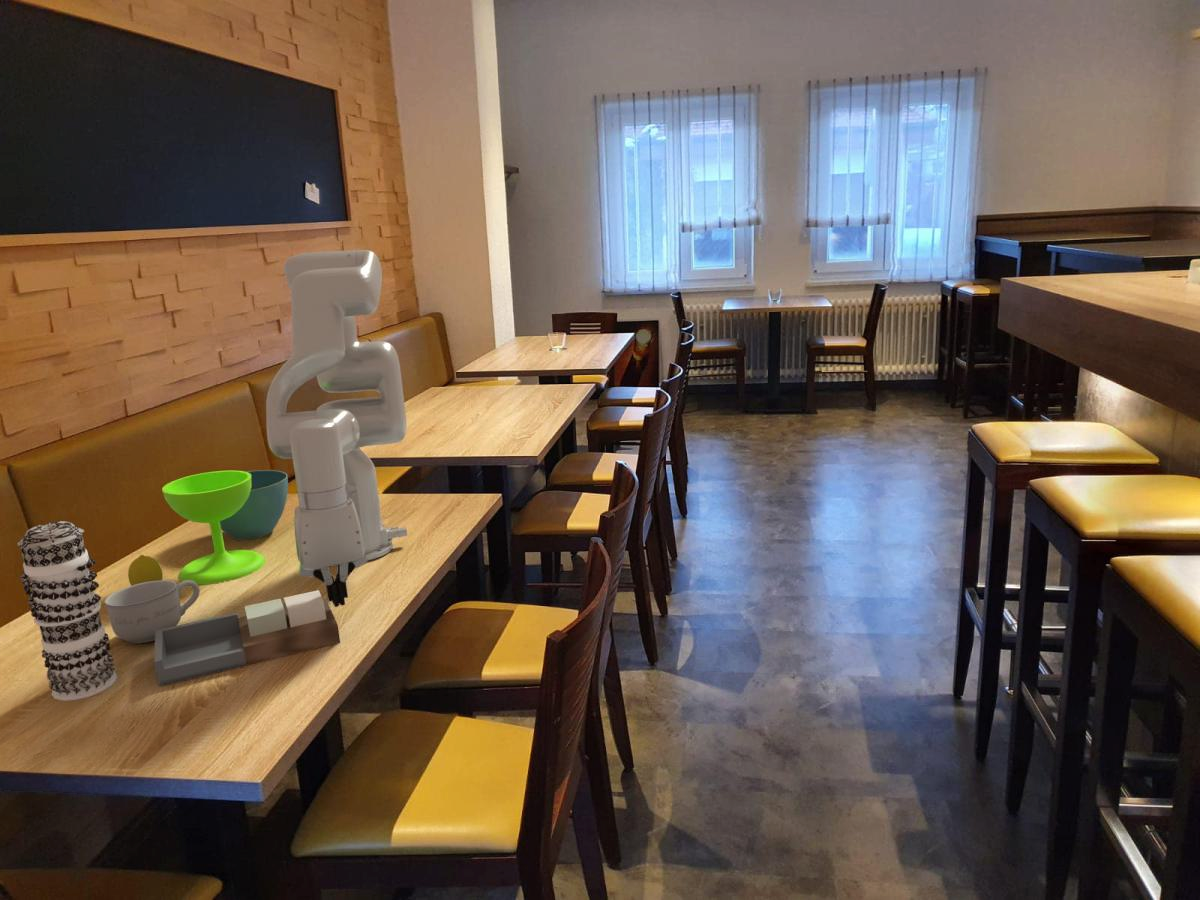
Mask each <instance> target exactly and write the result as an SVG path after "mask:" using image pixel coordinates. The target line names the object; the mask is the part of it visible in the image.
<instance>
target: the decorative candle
mask: <svg viewBox="0 0 1200 900" xmlns="http://www.w3.org/2000/svg"><path fill="white" fill-rule="evenodd" d="M84 533H85V530H84V529H83V528H81V527H77V526H76V525H75V524H74V523H72V522H69V521H64V520H63V521H52V522H47V523H43V524H38V525H36V526H34V527H31V528H29V529H28V530H26V532H25V533H24V536H23V538H22V539H21V540H19V541H18V542H17V546H18V547H20V550H21V555H22V559H23V564H22V566H23V571H22V573H21V574H22V575H21V576H20V581H22V584H23V585H24V586H23V590H24V594H25V595H28V597H29V598H28V599H27V603H28V604H29V607H30V614H31V617H32V618H34V620H33V623H34V624H35V625H37V626H38V627H39V630H40V635H41V640H40V641H41V646H42V649H43V650H42V651H41V657H42V658H44V659H45V660H44V667H45V668H46V669H48V670H47V671H46V678H47V680H48V681H49V683H48V687H49V689H51V690H52V692H51V696H52V697H53V699H55V700H56V701H61V702H69V701H70V702H71V701H78V700H83V699H87V698H90V697H93V696H94V695H95V696H96V695H98V694H100V693H102V692H104V691H105V690H107V689H110V688H111V687H112V686H113V685H114V684H115V683H116V682H117V680H118V679H117V678H118V676H117V673H116V672H115V670H116V666H115V663H114V662H113V661H114V660H115V659H114V658H113V654H112V653H110V650H111V644H110V643H109V640H110V638H109V635H108V633H106V630H105V626H104V623H103V622H102V619H101V614H100V610H101V608H102V603H101V598H102V597H101V596H100V594H98V593H97V594H96V593H95V592H94V591H96V590H97V589H98V588H99V587H100V584H99V582H97V581H95V579H96V578H97V577H98V574H97V572H95V571H93V570H90V568H91V567H93V566H94V565H95V564H96V561H95V560H94V559H93V558H91V557H89V552H88V549H86V547H85V542H84V541H85V540H84V538H83V534H84Z"/></svg>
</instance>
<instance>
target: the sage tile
mask: <svg viewBox="0 0 1200 900" xmlns="http://www.w3.org/2000/svg"><path fill="white" fill-rule="evenodd" d="M284 607H285V606H284V605H283V601H282V599H281V598H278V599H273V600H267V601H262V602H258V603H253V604H250V605H249V604H248V605H245V606H244V611H245V616H246V617H247V623H248V628H249V633H250V637H252V636H256V635H261V634H265V633H269V632H274V631H278V630H282V629H286V628H287V623H286V616H285V610H284Z"/></svg>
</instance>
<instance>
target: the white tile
mask: <svg viewBox="0 0 1200 900" xmlns="http://www.w3.org/2000/svg"><path fill="white" fill-rule="evenodd" d="M323 599H324V598H323V596H322V594H321V592H320V590H318V589H317V590H314V591H309V592H305V593H299V594H295V595H291V596H286V597H283V601H284V607H285V608H286V614H287V617H288V621H289V624H290V627H295V626H299V625H304V624H308V623H312V622H317V621H321V620H325V619H326V613H325V606H324V601H323Z"/></svg>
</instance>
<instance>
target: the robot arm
mask: <svg viewBox="0 0 1200 900" xmlns="http://www.w3.org/2000/svg"><path fill="white" fill-rule="evenodd" d="M283 266H284V267H283V272H284V276H285V281H286V283H287V285H288V287H289V289H290V297H291V298H290V299H291V301H290V302H291V303H290V304H291V307H290V308H291V328H292V329H291V330H292V333H291V334H292V353H291V356H290V357H289V358H288V359H287V360H286V361H285V362H284V363H283V364H282V366H281V367H280V368H279V369H278V371H277V372H276V373H275V376H274V378H273V379H272V381H271V383H270V385H269V389H268V391H267V396H266V400H265V401H266V402H265V404H266V405H265V406H266V407H265V408H266V411H265V413H266V437H267V443H268V447H269V449H270V451H271V452H272V454H273V455H274V456H276V457H277V458H279V459H286V460H287V459H290V460H291V459H292V464H293V469H294V477H295V482H296V483H295V484H296V489H297V492H296V493H297V497H298V506H296V507H295V508H294V515H293V517H294V519H293V522H294V524H293V525H294V538H295V539H294V540H295V546H296V547H295V550H296V555H297V560H298V562H299V564H298V565H299V566H298V574H299V576H300V578H316V579H318V580H319V581H320V582H322V583H324V584H325V588H326V589H325V590H326V594H327V596H326V597H327V601H328V603H329V602H332V603H333V605H334V607H335V608H338V607H339V606H346V601H345V599H346V598H347V599H348V597H349V596H348V595H349V594H348V590H347V589H348V588H347V581H348V577H350V575H351V574H352V573H353V571H354V569H356V568H359V567H361V566H363V565H366V564H367V563H368V561H371V560H375V559H378V558H380V557H383V556H385V555H388V553H390V552H391V550H393V547H394V546H393V539H395V538H403V537H407V536H408V529H407V527H406V526H403V527H398V525H395V526H391V527H386V526H384V524H383V519H382V512H381V505H380V504H381V503H380V496H379V489H378V480H377V472H376V467H375V464H374V463H373V462H374V461H372V460H371V458H370V457H369V456H368V455H367V454H366V452H365V451H364V450H362V448H364V447H370V446H371V447H373V446H383V445H391V444H398V443H400V442H401V441H403V440H404V439H405V437H406V434H407V426H408V425H407V415H406V408H405V407H406V405H405V397H404V396H405V395H404V390H403V389H404V387H403V379H402V372H401V370H402V369H401V363H400V360H399V355H398V353H397V350H396V349H395V347H394V346H393V344H391V343H390V342H387V341H381V340H377V341H376V340H374V341H361V342H360V341H359V340H358V339H359V338H358V335H357V334H358V333H357V326H356V319H355V317H356V316H357V317H358V316H368V315H369V316H370V315H372V314H374V313H375V312H376V311H377V310H378V307H379V303H380V299H381V292H382V283H383V270H382V265H381V262H380V259H379V257H378V256H377V254H376V253H375V252H374V251H372V250H368V249H353V250H352V249H351V250H349V249H348V250H333V251H332V250H330V251H328V250H327V251H315V252H313V251H312V252H305V253H304V252H303V253H298V254H295V255H292V256H290V257H288V259H286V260H285V263H284V265H283ZM314 378H316V379H317V383H318V385H319V387H320V388H321V389H322V391H325V392H327V393H333V394H334V393H335V394H340V393H355V392H356V393H357V392H367V391H368V392H369V391H375V392H377V393H378V394H379V395H380V396H373V397H360V398H359V397H358V398H357V397H356V398H347V399H346V398H345V399H338V400H337V399H336V400H331V401H327V402H324V403H322V404H321V405H319V406H318V407H317V408H316V410H307V411H306V410H305V411H297V412H295V411H294V412H287V407H288V406H287V405H288V402H289V400H290V398H291V396H292V395H293V393H294V392H295V391H296V390H297V389H298V388H300V387H301V386H302V385H304V384H305V383H307V382H308V381H310V380H312V379H314ZM331 567H337V568H336V575H335V578H334V577H333V575H332V574H331V572H330V568H331Z"/></svg>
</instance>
